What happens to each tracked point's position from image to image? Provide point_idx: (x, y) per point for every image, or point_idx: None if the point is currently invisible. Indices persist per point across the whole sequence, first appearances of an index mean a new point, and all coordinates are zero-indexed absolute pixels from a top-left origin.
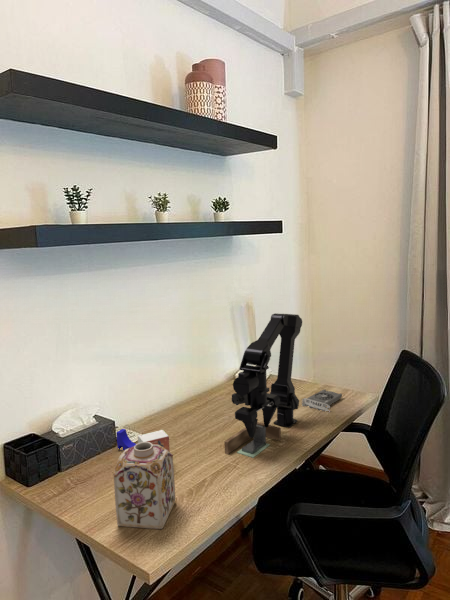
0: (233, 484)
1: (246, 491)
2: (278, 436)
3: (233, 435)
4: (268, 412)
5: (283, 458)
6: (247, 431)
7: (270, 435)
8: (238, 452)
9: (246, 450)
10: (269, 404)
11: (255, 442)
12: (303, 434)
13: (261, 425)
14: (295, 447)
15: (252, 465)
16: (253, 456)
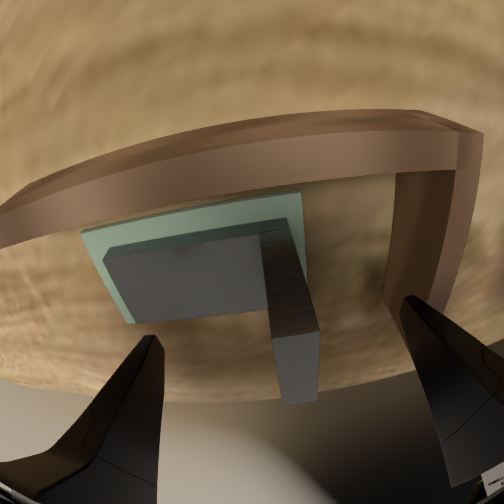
0: (11, 351)
1: (35, 381)
2: (391, 310)
3: (57, 193)
4: (459, 431)
5: (234, 385)
6: (111, 378)
7: (397, 261)
8: (85, 243)
9: (119, 286)
10: (491, 489)
11: (233, 271)
12: (464, 317)
13: (441, 227)
14: (347, 366)
15: (95, 345)
16: (132, 322)
